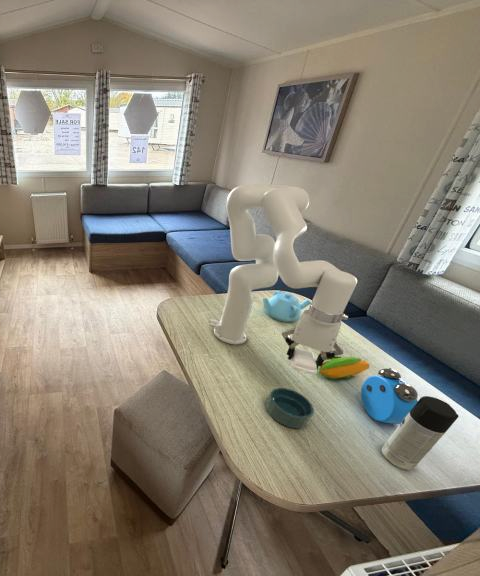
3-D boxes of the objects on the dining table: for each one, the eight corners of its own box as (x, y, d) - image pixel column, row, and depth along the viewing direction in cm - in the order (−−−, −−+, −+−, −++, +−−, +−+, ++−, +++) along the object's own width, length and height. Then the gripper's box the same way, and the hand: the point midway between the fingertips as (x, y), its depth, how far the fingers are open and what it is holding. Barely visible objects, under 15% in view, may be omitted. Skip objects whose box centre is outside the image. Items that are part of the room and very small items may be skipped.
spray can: (406, 451, 83) (447, 399, 74) (420, 475, 78) (467, 421, 68) (376, 443, 85) (413, 391, 76) (388, 466, 79) (429, 413, 70)
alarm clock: (403, 435, 88) (431, 397, 81) (379, 431, 88) (405, 394, 81) (374, 399, 99) (397, 364, 92) (353, 396, 100) (374, 361, 93)
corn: (316, 353, 107) (363, 347, 110) (307, 369, 111) (353, 362, 114) (334, 369, 100) (383, 362, 104) (324, 385, 105) (372, 378, 108)
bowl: (263, 417, 92) (267, 405, 90) (268, 393, 100) (273, 382, 98) (306, 436, 86) (312, 424, 84) (308, 410, 95) (314, 398, 92)
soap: (288, 351, 100) (291, 344, 99) (312, 357, 98) (315, 350, 97) (291, 368, 93) (294, 361, 92) (317, 375, 91) (320, 368, 89)
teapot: (299, 330, 132) (308, 307, 127) (257, 315, 142) (264, 293, 137) (306, 315, 143) (315, 294, 138) (266, 302, 153) (273, 282, 148)
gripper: (361, 317, 85) (336, 366, 94) (290, 298, 94) (273, 345, 102) (363, 330, 80) (336, 381, 88) (288, 309, 88) (269, 357, 97)
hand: (302, 361), depth 95 cm, fingers closed on soap, 6 cm apart
